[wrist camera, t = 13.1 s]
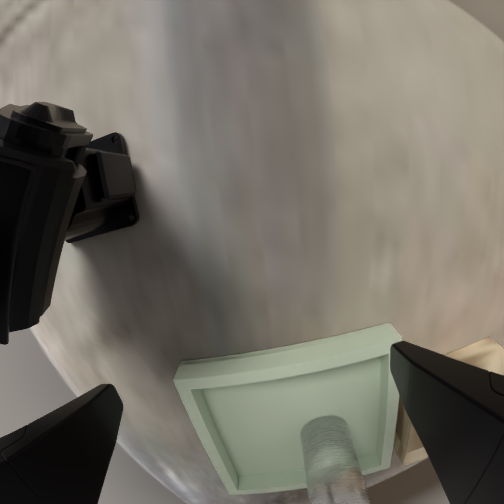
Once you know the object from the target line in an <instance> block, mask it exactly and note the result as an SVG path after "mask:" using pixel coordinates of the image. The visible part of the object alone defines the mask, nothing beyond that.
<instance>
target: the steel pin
mask: <svg viewBox="0 0 504 504" xmlns="http://www.w3.org/2000/svg"><path fill="white" fill-rule="evenodd" d="M300 437H301V445H302V452H303V459H304V467H305V475H306V483H307V491H308V499H309V504H371V502H370V498H369V495H368V491H367V488H366V484H365V481H364V478H363V474H362V471H361V467H360V464H359V461H358V457H357V454H356V451H355V448H354V444H353V441H352V438H351V435H350V432H349V428H348V425H347V422H346V421H345V420H344V419H343V418H341V417H338V416H333V415H328V416H321V417H318V418H315V419H313V420H311V421H309V422H308V423H307V424H306V425H305V426H304V427H303V428H302V430H301V432H300Z"/></svg>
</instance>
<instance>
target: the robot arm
mask: <svg viewBox="0 0 504 504" xmlns="http://www.w3.org/2000/svg"><path fill="white" fill-rule="evenodd" d="M86 130H87V128H84V127H82V126H80V125H78V124H77V123H76V122H75V118H74V113H73V111H72V110H70V109H67V108H64V107H61V106H57V105H54V104H50V103H46V102H35V103H33V104H31V105H25V106H16V105H12V104H9V105H7V106H5V107H3V108H1V109H0V344H4V345H5V344H8V342H9V332H13V331H18V330H23V329H27V328H30V327H32V326H34V325H36V324H38V323H39V319H40V316H42V315H43V314H44V312H45V311H46V310H47V308H48V307H49V306H50V303H51V298H52V293H53V287H54V282H55V278H56V273H57V268H58V264H59V260H60V256H61V252H62V248H63V244H64V241H66V242H68V243H72V242H75V241H79V240H82V239H86V238H89V237H93V236H96V235H100V234H103V233H107V232H110V231H114V230H118V229H121V228H125V227H129V226H133V225H135V224H137V223H138V221H139V214H138V210H137V205H136V201H135V196H134V195H135V193H136V187H135V183H134V178H133V173H132V168H131V163H130V158H129V156H127V155H126V152H125V146H124V141H123V136H122V135H121V134H119V133H116V132H115V133H111V134H109V135H106V136H104V137H101V138H99V139H96V140H94V141H91V139H92V137H93V134H91V133H89V132H86ZM115 137H117V142H116V143H114V138H115ZM130 215H132V216H133V217H134V220H133V221H131V220H130V219H129V216H130ZM390 370H391V374H392V376H393V379H394V382H395V384H396V387H397V390H398V392H399V395H400V398H401V400H402V403H403V406H404V408H405V411H406V413H407V415H408V417H409V419H410V421H411V423H412V425H413V427H414V429H415V431H416V433H417V435H418V436H419V438H420V440H421V443H422V445H423V447H424V449H425V451H426V453H427V455H428V457H429V459H430V461H431V463H432V465H433V467H434V469H435V471H436V473H437V476H438V478H439V480H440V482H441V484H442V487H443V489H444V491H445V493H446V495H447V498H448V500H449V502H450V504H504V375H501V374H497V373H495V372H492V371H490V372H489V371H488V370H485V369H482V368H479V367H477V366H474V365H471V364H468V363H465V362H462V361H459V360H456V359H453V358H450V357H448V356H445V355H442V354H439V353H436V352H434V351H431V350H428V349H425V348H422V347H420V346H417V345H414V344H411V343H409V342H406V341H400V342H397V343H393V344H392V345H391V348H390ZM122 412H123V403H122V400H121V399H120V397H119V395H118V393H117V391H116V389H115V387H114V386H113V385H112V384H101V385H99V386H97V387H95V388H94V389H92V390H90V391H88V392H87V393H85V394H83V395H81V396H79V397H78V398H76V399H74V400H72V401H70V402H69V403H67V404H65V405H64V406H61V407H60V408H58V409H56V410H54V411H52V412H50V413H49V414H47V415H45V416H43V417H41V418H39V419H37V420H35V421H33V422H32V423H30V424H28V425H26V426H24V427H22V428H20V429H18V430H16V431H14V432H12V433H10V434H8V435H5V436H3V437H1V438H0V504H98V500H99V497H100V493H101V490H102V486H103V483H104V480H105V476H106V473H107V470H108V466H109V463H110V460H111V457H112V454H113V450H114V447H115V444H116V440H117V435H118V430H119V426H120V421H121V417H122Z"/></svg>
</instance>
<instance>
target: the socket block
mask: <svg viewBox="0 0 504 504" xmlns="http://www.w3.org/2000/svg"><path fill="white" fill-rule="evenodd" d="M445 356H448V357H450V358H453V359H456V360H459V361H462V362H465V363H468V364H471V365H474V366H477V367H479V368H482V369H485V370H488V371H489V372H490V371H492V372H495V373H497V374H501V375H504V349H503V348H502V347H501V346H499V345H498V344H497V343H496V342H495V341H493V340H492V339H491V338H490V337H487V338H485V339H483V340H480V341H478V342H476V343H473V344H471V345H469V346H466V347H464V348H462V349H459V350H457V351H454V352H452V353H449V354H446V355H445ZM394 447H395V449H396V451H397V454H398V456H399V458H400V461H401V463H402V466H406V465H408V464H411V463H414V462H416V461H419V460H422V459H424V458H427V457H428V455H427V453H426V451H425V449H424V447H423V445H422V443H421V440H420V438H419V436H418V435H417V433H416V431H415V429H414V427H413V425H412V423H411V421H410V419H409V417H408V415H407V413H406V411H405V408H404V406H403V403H402V400H401V398H400V395H399V403H398V413H397V422H396V430H395V437H394Z"/></svg>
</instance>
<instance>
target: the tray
mask: <svg viewBox="0 0 504 504" xmlns="http://www.w3.org/2000/svg"><path fill="white" fill-rule="evenodd" d="M400 341H402V337H401V336H400V335H399V334H398V332H397V331H396V330H395V329H394V327H393V326H392V325H391V324H390V323H385V324H382V325H378V326H374V327H370V328H366V329H362V330H358V331H354V332H350V333H346V334H341V335H337V336H333V337H328V338H324V339H319V340H314V341H309V342H305V343H300V344H294V345H289V346H284V347H278V348H273V349H267V350H261V351H255V352H249V353H242V354H235V355H228V356H221V357H213V358H205V359H197V360H188V361H181V362H180V365H179V367H178V369H177V372H176V374H175V376H174V379H173V381H174V384H175V386H176V388H177V391H178V393H179V395H180V398H181V400H182V402H183V404H184V407H185V409H186V411H187V413H188V416H189V418H190V420H191V422H192V424H193V426H194V428H195V430H196V432H197V435H198V437H199V439H200V441H201V443H202V445H203V447H204V449H205V451H206V453H207V455H208V456H209V458H210V460H211V462H212V464H213V466H214V468H215V470H216V472H217V473H218V475H219V477H220V479H221V481H222V482H223V484H224V486H225V488H226V489H227V491H228V493H229V495H245V494H260V493H271V492H280V491H288V490H295V489H302V488H307V483H306V475H305V467H304V459H303V452H302V445H301V437H300V432H301V430H302V428H303V427H304V426H305V425H306V424H307V423H308V422H309V421H311V420H313V419H315V418H318V417H321V416H328V415H333V416H338V417H341V418H343V419H344V420H345V421H346V422H347V425H348V428H349V432H350V435H351V438H352V441H353V444H354V448H355V451H356V454H357V457H358V461H359V464H360V467H361V471H362V474H363V475H367V474H371V473H374V472H377V471H381V470H384V469H387V468H390V463H391V457H392V451H393V444H394V437H395V430H396V422H397V413H398V403H399V392H398V390H397V387H396V384H395V382H394V379H393V376H392V374H391V370H390V348H391V345H392V344H393V343H397V342H400Z"/></svg>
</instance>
